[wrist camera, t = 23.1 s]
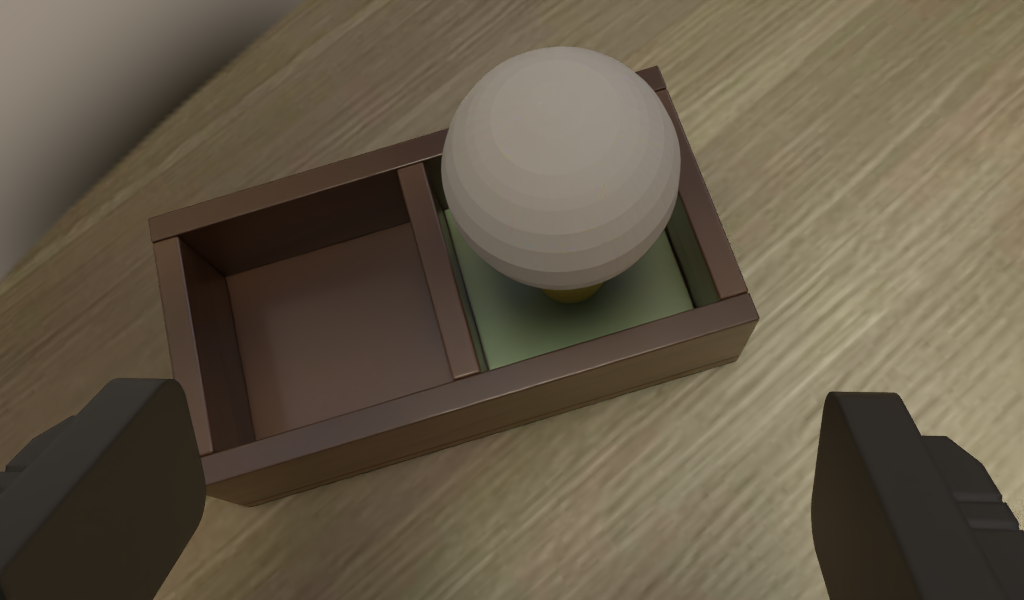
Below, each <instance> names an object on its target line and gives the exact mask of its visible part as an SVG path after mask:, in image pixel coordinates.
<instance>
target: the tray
mask: <svg viewBox="0 0 1024 600" xmlns="http://www.w3.org/2000/svg"><path fill="white" fill-rule="evenodd" d="M635 73H636V74H637V75H639V76H640V77H641V78H642V79H643V80H644V81H645V82H646V83H647V84H648V85H649V86H650V87H651V88H652V89H653V90H654V92H655V93H656V95H657V96H658V97H659V99H660V101H661V102H662V104H663V106H664V108H665V110H666V111H667V113H668V115H669V117H670V118H671V121H672V123H673V125H674V128H675V131H676V134H677V137H678V142H679V147H680V157H681V164H680V177H679V187H678V193H677V199H676V202H675V206H674V209H673V212H672V214H671V217H670V219H669V221H668V223H667V225H666V227H665V228H664V230H663V231H662V233H661V234H660V236H659V237H658V239H657V240H656V241H655V242H654V243H653V245H652V246H651V247H650V248H649V249H648V251H647V252H646V253H645V254H644V255H643V256H642V257H641V258H640V259H639V260H638V261H637V262H636V263H634V264H633V265H632V266H631V267H629V268H628V269H627V270H625V271H624V272H622V273H620V274H619V275H617V276H615V277H613V278H611V279H609V280H607V281H604V282H603V284H602V286H601V287H600V288H599V290H598V291H597V292H596V293H595V294H594V295H592V296H591V297H589V298H588V299H586V300H583V301H580V302H576V303H563V302H558V301H556V300H553V299H551V298H550V297H548V296H547V295H546V294H545V293H544V292H543V291H542V289H541V288H537V287H533V286H529V285H526V284H523V283H520V282H517V281H515V280H513V279H511V278H509V277H507V276H505V275H503V274H502V273H500V272H499V271H497V270H496V269H494V268H493V267H492V266H490V265H489V264H488V263H487V262H485V261H484V260H483V259H482V258H481V257H480V256H478V255H477V254H476V253H475V252H474V251H473V250H472V249H471V247H470V246H469V245H468V244H467V243H466V241H465V240H464V239H463V237H462V236H461V234H460V232H459V231H458V229H457V227H456V225H455V223H454V221H453V218H452V216H451V212H450V209H449V206H448V203H447V200H446V196H445V193H444V189H443V183H442V174H441V162H442V154H443V148H444V144H445V140H446V137H447V134H448V130H449V128H448V129H445V130H441V131H438V132H435V133H431V134H428V135H425V136H421V137H418V138H415V139H411V140H408V141H405V142H401V143H398V144H395V145H391V146H388V147H385V148H381V149H378V150H375V151H371V152H368V153H365V154H361V155H358V156H355V157H351V158H348V159H345V160H341V161H338V162H335V163H331V164H328V165H325V166H322V167H318V168H315V169H312V170H308V171H305V172H302V173H298V174H295V175H292V176H288V177H285V178H282V179H278V180H275V181H272V182H268V183H265V184H262V185H258V186H255V187H252V188H248V189H245V190H242V191H238V192H235V193H232V194H228V195H225V196H222V197H218V198H215V199H212V200H208V201H205V202H202V203H198V204H195V205H192V206H188V207H185V208H182V209H178V210H175V211H172V212H168V213H165V214H162V215H159V216H155V217H152V218H149V219H148V221H149V228H150V234H151V241H152V243H153V249H154V256H155V262H156V269H157V275H158V282H159V288H160V294H161V301H162V307H163V314H164V320H165V327H166V333H167V340H168V346H169V352H170V359H171V365H172V372H173V378H174V380H176V381H178V382H179V383H180V384H181V386H182V388H183V390H184V392H185V395H186V398H187V403H188V407H189V411H190V415H191V420H192V424H193V428H194V433H195V437H196V441H197V445H198V450H199V454H200V458H201V463H202V467H203V471H204V476H205V482H206V495H208V496H211V497H215V498H218V499H222V500H225V501H229V502H232V503H236V504H239V505H243V506H247V507H252V506H255V505H259V504H262V503H265V502H269V501H272V500H275V499H279V498H282V497H285V496H289V495H292V494H295V493H298V492H302V491H305V490H308V489H312V488H315V487H318V486H322V485H325V484H328V483H332V482H335V481H338V480H342V479H345V478H348V477H352V476H355V475H358V474H361V473H365V472H368V471H371V470H375V469H378V468H381V467H385V466H388V465H391V464H395V463H398V462H401V461H405V460H408V459H411V458H415V457H418V456H421V455H424V454H428V453H431V452H434V451H438V450H441V449H444V448H448V447H451V446H454V445H458V444H461V443H464V442H468V441H471V440H474V439H478V438H481V437H484V436H487V435H491V434H494V433H497V432H501V431H504V430H507V429H511V428H514V427H517V426H521V425H524V424H527V423H531V422H534V421H537V420H541V419H544V418H547V417H550V416H554V415H557V414H560V413H564V412H567V411H570V410H574V409H577V408H580V407H584V406H587V405H590V404H594V403H597V402H600V401H604V400H607V399H610V398H614V397H617V396H620V395H623V394H627V393H630V392H633V391H637V390H640V389H643V388H647V387H650V386H653V385H657V384H660V383H663V382H667V381H670V380H673V379H677V378H680V377H683V376H686V375H690V374H693V373H696V372H700V371H703V370H706V369H710V368H713V367H716V366H720V365H723V364H726V363H730V362H733V361H736V360H737V359H738V357H739V356H740V354H741V352H742V350H743V349H744V347H745V345H746V343H747V341H748V339H749V337H750V336H751V334H752V332H753V330H754V328H755V326H756V324H757V323H758V321H759V316H758V313H757V311H756V308H755V306H754V303H753V301H752V298H751V296H750V294H749V293H747V292H748V289H747V286H746V284H745V281H744V279H743V276H742V274H741V271H740V269H739V266H738V264H737V261H736V259H735V256H734V254H733V252H732V249H731V247H730V244H729V242H728V239H727V237H726V234H725V232H724V229H723V227H722V224H721V222H720V219H719V217H718V214H717V212H716V209H715V207H714V204H713V202H712V199H711V197H710V194H709V192H708V189H707V187H706V185H705V182H704V180H703V177H702V175H701V172H700V170H699V167H698V165H697V162H696V160H695V157H694V155H693V152H692V150H691V147H690V145H689V142H688V140H687V137H686V135H685V132H684V130H683V127H682V125H681V122H680V120H679V117H678V115H677V113H676V110H675V108H674V105H673V103H672V100H671V98H670V95H669V93H668V91H667V89H666V85H665V82H664V80H663V77H662V75H661V72H660V70H659V67H658V66H654V67H651V68H648V69H644V70H641V71H638V72H635Z"/></svg>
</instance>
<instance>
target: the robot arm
mask: <svg viewBox="0 0 1024 600" xmlns="http://www.w3.org/2000/svg"><path fill="white" fill-rule="evenodd" d="M205 499H206V482H205V476H204V471H203V467H202V463H201V458H200V454H199V450H198V445H197V441H196V437H195V433H194V428H193V424H192V420H191V415H190V411H189V407H188V403H187V398H186V395H185V392H184V390H183V388H182V386H181V384H180V383H179V382H178V381H176V380H174V379H136V378H117V379H113V380H111V381H110V382H109V383H108V384H106V386H105V387H104V388H103V389H102V390H101V391H100V392H99V393H98V394H97V395H96V396H95V397H94V398H93V399H92V400H91V401H90V402H89V403H88V404H87V405H86V406H85V407H84V408H83V409H82V410H81V411H80V412H79V413H78V415H77V416H71V417H69V418H67V419H66V420H64V421H62V422H61V423H59V424H57V425H56V426H54V427H52V428H50V429H49V430H47V431H45V432H44V433H42V434H40V435H39V436H37V437H35V438H34V439H32V440H31V441H30V442H29V443H28V444H27V445H26V446H25V447H24V448H23V449H22V450H21V451H20V452H19V453H18V454H17V455H16V456H15V457H14V458H13V459H12V460H11V461H10V462H9V463H8V464H7V465H6V470H5V472H0V600H153V598H154V597H155V595H156V594H157V592H158V590H159V589H160V587H161V585H162V584H163V582H164V581H165V579H166V577H167V576H168V574H169V573H170V571H171V569H172V568H173V566H174V565H175V563H176V561H177V560H178V558H179V556H180V555H181V553H182V552H183V550H184V548H185V547H186V545H187V544H188V542H189V540H190V539H191V537H192V536H193V534H194V532H195V531H196V529H197V527H198V525H199V523H200V521H201V518H202V515H203V511H204V506H205ZM811 522H812V534H813V541H814V546H815V551H816V554H817V558H818V561H819V564H820V568H821V571H822V575H823V578H824V581H825V585H826V588H827V591H828V595H829V598H830V600H1024V531H1023V530H1019V523H1018V521H1017V519H1016V518H1015V516H1014V514H1013V513H1012V511H1011V510H1010V508H1009V506H1008V505H1007V503H1003V502H1002V495H1001V493H1000V492H999V490H998V489H997V487H996V485H995V484H994V482H993V480H992V479H991V477H990V476H989V474H988V472H987V471H986V469H985V467H984V466H983V464H982V463H980V462H979V461H978V460H977V459H975V458H974V457H973V456H971V455H970V454H969V453H967V452H966V451H965V450H964V449H962V448H961V447H960V446H958V445H957V444H956V443H955V442H953V441H952V440H951V439H949V438H948V437H947V436H921V434H920V432H919V431H918V429H917V427H916V425H915V423H914V421H913V419H912V418H911V416H910V414H909V412H908V410H907V408H906V406H905V405H904V403H903V401H902V399H901V398H900V396H899V395H898V394H897V393H888V392H829V393H828V395H827V397H826V400H825V403H824V408H823V415H822V423H821V431H820V438H819V446H818V454H817V461H816V469H815V477H814V485H813V492H812V503H811Z"/></svg>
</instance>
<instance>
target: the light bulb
mask: <svg viewBox="0 0 1024 600" xmlns="http://www.w3.org/2000/svg"><path fill="white" fill-rule="evenodd" d="M680 164H681V157H680V147H679V142H678V137H677V134H676V131H675V128H674V125H673V123H672V121H671V118H670V117H669V115H668V113H667V111H666V110H665V108H664V106H663V104H662V102H661V101H660V99H659V97H658V96H657V95H656V93H655V92H654V90H653V89H652V88H651V87H650V86H649V85H648V84H647V83H646V82H645V81H644V80H643V79H642V78H641V77H640V76H639V75H637V74H636V73H635V72H633V71H632V70H631V69H629V68H628V67H627V66H625V65H624V64H622V63H621V62H619V61H617V60H615V59H613V58H611V57H609V56H607V55H605V54H602V53H599V52H596V51H592V50H589V49H584V48H577V47H547V48H540V49H536V50H532V51H528V52H525V53H522V54H519V55H517V56H514V57H512V58H510V59H508V60H506V61H504V62H502V63H501V64H499V65H498V66H496V67H495V68H493V69H492V70H491V71H489V72H488V73H487V74H486V75H485V76H484V77H482V78H481V79H480V80H479V81H478V82H477V84H476V85H475V86H474V87H473V88H472V89H471V90H470V92H469V93H468V94H467V95H466V97H465V98H464V99H463V101H462V102H461V104H460V105H459V107H458V109H457V111H456V113H455V115H454V117H453V119H452V122H451V125H450V127H449V130H448V134H447V137H446V140H445V144H444V148H443V154H442V162H441V174H442V183H443V189H444V193H445V196H446V200H447V203H448V206H449V209H450V212H451V216H452V218H453V221H454V223H455V225H456V227H457V229H458V231H459V232H460V234H461V236H462V237H463V239H464V240H465V241H466V243H467V244H468V245H469V246H470V247H471V249H472V250H473V251H474V252H475V253H476V254H477V255H478V256H480V257H481V258H482V259H483V260H484V261H485V262H487V263H488V264H489V265H490V266H492V267H493V268H494V269H496V270H497V271H499V272H500V273H502V274H503V275H505V276H507V277H509V278H511V279H513V280H515V281H517V282H520V283H523V284H526V285H529V286H533V287H537V288H541V289H542V291H543V292H544V293H545V294H546V295H547V296H548V297H550V298H551V299H553V300H556V301H558V302H563V303H576V302H580V301H583V300H586V299H588V298H589V297H591V296H592V295H594V294H595V293H596V292H597V291H598V290H599V288H600V287H601V286H602V284H603V282H604V281H607V280H609V279H611V278H613V277H615V276H617V275H619V274H620V273H622V272H624V271H625V270H627V269H628V268H629V267H631V266H632V265H633V264H634V263H636V262H637V261H638V260H639V259H640V258H641V257H642V256H643V255H644V254H645V253H646V252H647V251H648V249H649V248H650V247H651V246H652V245H653V243H654V242H655V241H656V240H657V239H658V237H659V236H660V234H661V233H662V231H663V230H664V228H665V227H666V225H667V223H668V221H669V219H670V217H671V214H672V212H673V209H674V206H675V202H676V199H677V193H678V187H679V177H680Z"/></svg>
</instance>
